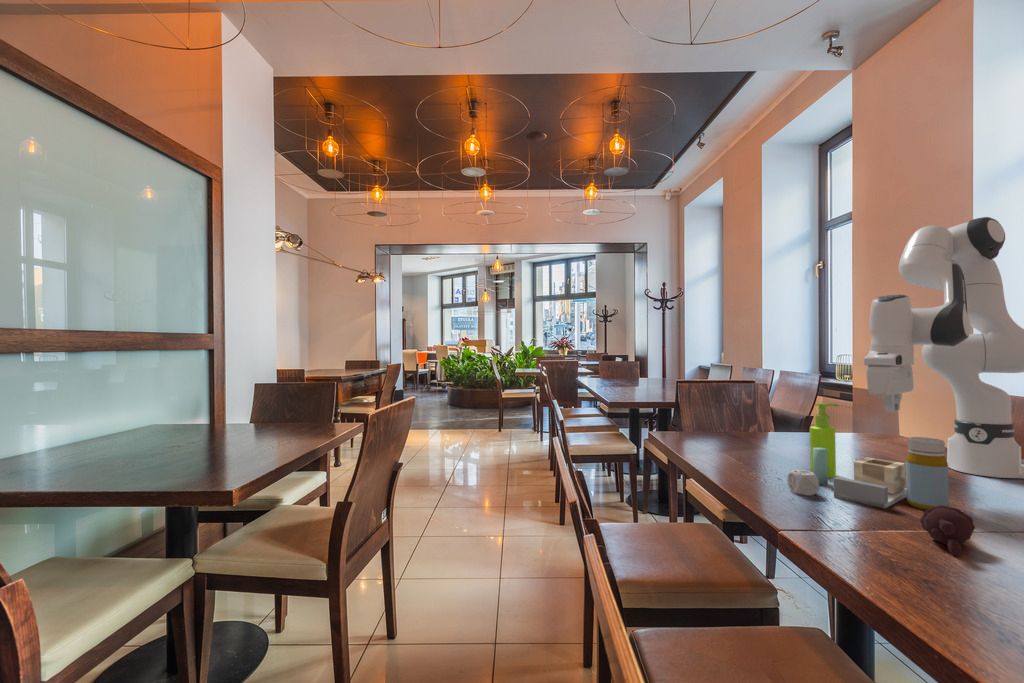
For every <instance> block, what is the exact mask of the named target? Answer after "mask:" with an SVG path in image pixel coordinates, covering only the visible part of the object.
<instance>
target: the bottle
mask: <svg viewBox="0 0 1024 683" xmlns="http://www.w3.org/2000/svg"><path fill="white" fill-rule="evenodd" d="M907 445H908V446H907V447H908V453H907V455H906V458H905V463H906V488H907V497H906V501H907V502H908V504H909V505H910V506H911V507H914V508H916V509H920V510H922V511H923V510H924V511H926V510H927V509H930V508H934V507H937V506H938V505H943V506H946V507H949V467H948V463H947V457H945V456H946V453H945V451H946V444H945V441H944V440H942V439H939V438H931V437H921V436H911V437H908V439H907Z"/></svg>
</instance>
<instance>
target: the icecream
mask: <svg viewBox="0 0 1024 683" xmlns="http://www.w3.org/2000/svg"><path fill="white" fill-rule="evenodd" d="M919 521H920V523H921V526H922V528H923V530H925V531H926V532H927V533H928V534H929V536H930V537H931V538H932V539H933V540H936V541H938V542H940V543H942V544H944V545H946V546H947V548H948V551H949V553H950V554H951V555H952V556H956V557H958V556H960V555H961V553H962V545H963V544H965V542H968V541H969V540H970V539H971V537H972V535H973V532H974V530H975V524H974V520H973V518H972V517H971V516H969V515H967V514H966V513H965V512H963V511H962V510H960V509H958V508H956V507H950V506H948V507H946V506H943V505H938V506H937V507H934V508H930V509H927V510H924V512H923V514H922V515H921V517H920V518H919Z"/></svg>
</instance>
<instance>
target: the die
mask: <svg viewBox="0 0 1024 683" xmlns="http://www.w3.org/2000/svg"><path fill="white" fill-rule="evenodd" d="M786 479H787V485H788V488H789V490H790V491H791V492H792V493H794V494H797V495H801V496H806V497H807V496H815V495H816V494H817V493H818V491H819V489H820V484H819V481H818V478H817V476H816V475H815V474H814V473H813V472H811V470H810V471H809V470H804V469H793V470H791V471H790V472H789V473H788V474H787V478H786Z"/></svg>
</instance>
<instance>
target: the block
mask: <svg viewBox="0 0 1024 683" xmlns="http://www.w3.org/2000/svg"><path fill="white" fill-rule="evenodd" d="M853 480H856V481H861V482H866V483H871V484H876V485H881V486H886V487H888V493H891V494H895V493H897V492H899V491H901V490H903V489H905V488H907V486H906V462H905V463H904V462H899V461H894V460H886V459H880V458H875V457H874V458H873V457H869V456H868V457H867V456H866V457H863V458H861V459H858V460H855V461H853Z"/></svg>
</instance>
